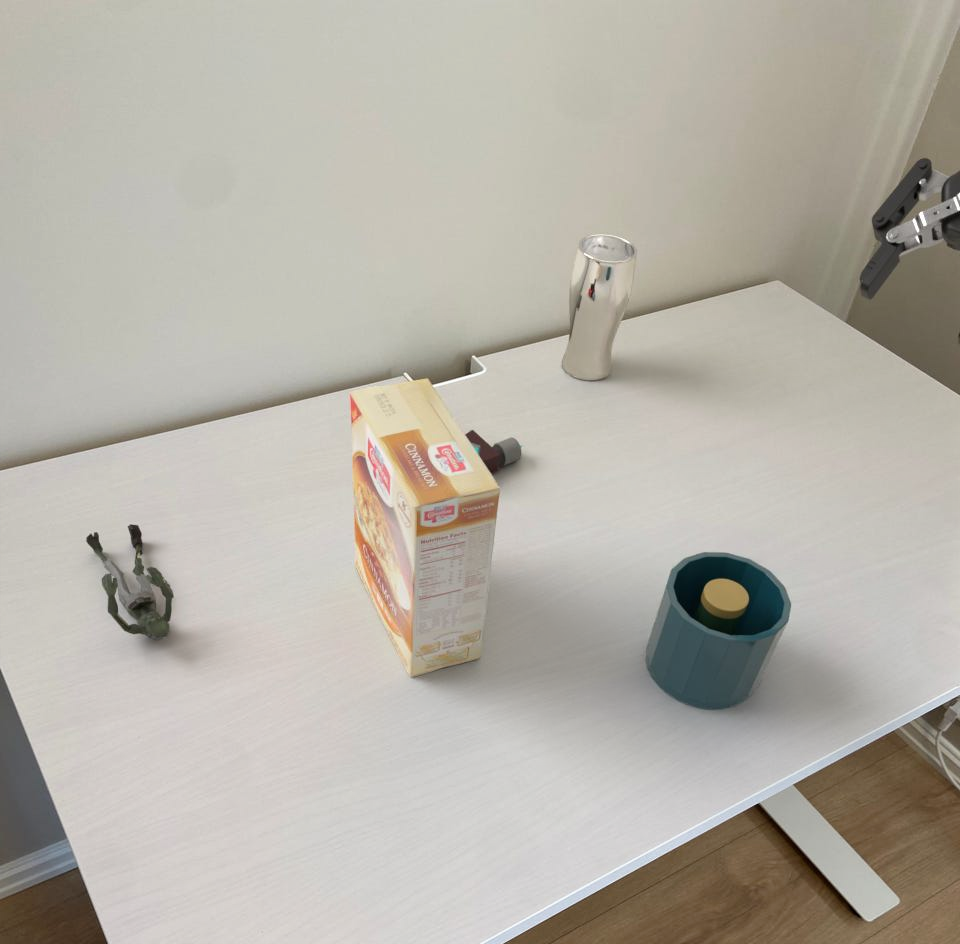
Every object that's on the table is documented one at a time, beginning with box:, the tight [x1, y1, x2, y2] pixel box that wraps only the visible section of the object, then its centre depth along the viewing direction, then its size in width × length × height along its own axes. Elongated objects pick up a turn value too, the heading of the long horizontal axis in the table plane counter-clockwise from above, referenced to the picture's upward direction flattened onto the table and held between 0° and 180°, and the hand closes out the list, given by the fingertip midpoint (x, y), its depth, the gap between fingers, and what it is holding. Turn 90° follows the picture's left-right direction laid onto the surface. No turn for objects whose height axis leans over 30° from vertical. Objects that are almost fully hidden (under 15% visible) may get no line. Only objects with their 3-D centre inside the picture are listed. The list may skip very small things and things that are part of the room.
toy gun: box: [464, 429, 523, 474], centre depth 102 cm, size 10×12×5 cm
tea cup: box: [645, 551, 792, 710], centre depth 83 cm, size 10×10×9 cm
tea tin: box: [694, 579, 749, 635], centre depth 83 cm, size 4×4×8 cm
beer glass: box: [561, 233, 638, 381], centre depth 111 cm, size 7×7×15 cm
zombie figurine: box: [85, 523, 175, 641], centre depth 84 cm, size 5×7×15 cm
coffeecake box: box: [349, 377, 501, 678], centre depth 81 cm, size 15×7×20 cm, turn 23°
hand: (912, 317), depth 74 cm, fingers open, 8 cm apart
